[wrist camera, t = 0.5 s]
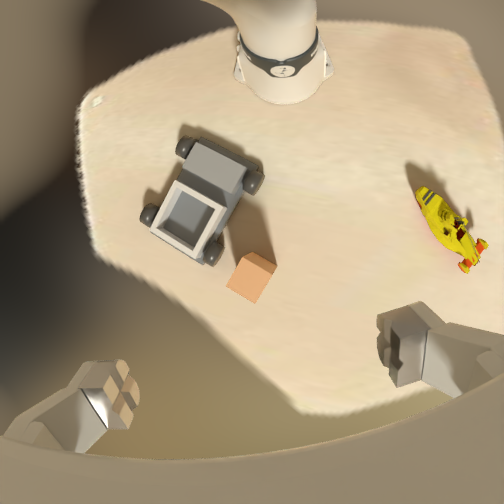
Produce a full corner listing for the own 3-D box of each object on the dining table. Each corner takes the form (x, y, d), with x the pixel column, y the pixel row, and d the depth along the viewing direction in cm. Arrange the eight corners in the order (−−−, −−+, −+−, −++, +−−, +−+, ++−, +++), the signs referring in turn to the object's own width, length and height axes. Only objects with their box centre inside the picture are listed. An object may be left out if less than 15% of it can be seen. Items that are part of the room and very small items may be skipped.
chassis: (194, 134, 54) (186, 127, 50) (268, 171, 53) (266, 167, 49) (144, 226, 57) (134, 227, 53) (213, 270, 56) (207, 273, 52)
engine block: (252, 251, 55) (242, 256, 45) (277, 266, 54) (272, 274, 44) (238, 275, 55) (225, 286, 45) (262, 290, 55) (255, 303, 45)
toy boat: (458, 273, 49) (484, 281, 39) (400, 203, 50) (420, 199, 40) (476, 249, 48) (505, 253, 38) (421, 179, 49) (444, 170, 39)
